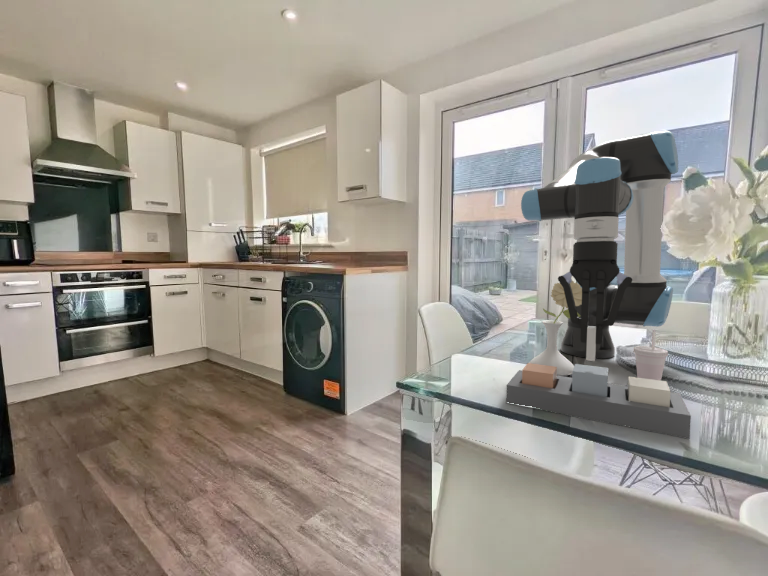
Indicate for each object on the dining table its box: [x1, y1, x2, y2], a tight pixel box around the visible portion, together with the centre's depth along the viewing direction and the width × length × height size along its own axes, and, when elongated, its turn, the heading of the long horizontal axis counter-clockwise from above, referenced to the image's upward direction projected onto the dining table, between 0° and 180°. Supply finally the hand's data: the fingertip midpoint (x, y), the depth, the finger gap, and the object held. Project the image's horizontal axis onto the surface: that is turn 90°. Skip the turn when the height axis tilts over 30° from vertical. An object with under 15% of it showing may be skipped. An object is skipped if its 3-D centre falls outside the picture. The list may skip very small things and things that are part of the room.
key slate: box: [571, 363, 609, 397], centre depth 74 cm, size 6×6×5 cm
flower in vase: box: [528, 280, 582, 377], centre depth 96 cm, size 13×11×25 cm
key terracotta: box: [522, 362, 557, 389], centre depth 79 cm, size 6×6×5 cm
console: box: [505, 369, 692, 440], centre depth 74 cm, size 12×30×4 cm, turn 58°
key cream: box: [627, 376, 671, 407], centre depth 69 cm, size 6×6×5 cm
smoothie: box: [632, 329, 669, 381], centre depth 84 cm, size 6×6×14 cm
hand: (590, 359), depth 74 cm, fingers closed
